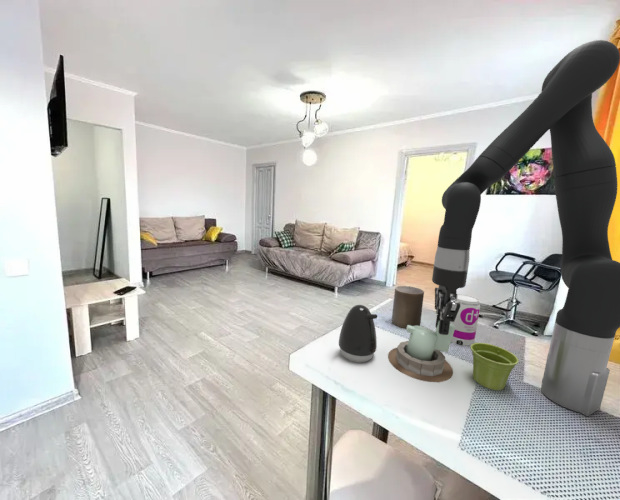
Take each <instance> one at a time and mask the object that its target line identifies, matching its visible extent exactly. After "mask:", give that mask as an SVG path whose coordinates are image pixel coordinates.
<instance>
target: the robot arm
mask: <svg viewBox="0 0 620 500" xmlns="http://www.w3.org/2000/svg"><path fill="white" fill-rule="evenodd" d="M619 64H620V51H619V49H618V46H616V44H614V43H613V42H611V41H608V40H602V39H600V40H597V39H595V40H592V41H588V42H585V43H583V44H581V45H579V46H577V47H575V48H574V49H572V50H570V52H568V53H566V55H564V57H563V58H562V59H560V60H559V61H558V62H557V64H556V65H554V67H553V68H552V69H551V70H550V71H549V72H548V73H547V75H546V76H545V78H544V80H543V82H542V86H541V91H540V93H539V94H538V95H537V96H536V98H534V100H533V101H532V102H531V103H530V104H529V105H528V107H526V108H525V109H524V111H523V112H521V113H520V115H519V116H518V117H517V118H515V119H514V120H513V121H512V122H511V123H510V124H509V125H508V126H507V127H506V128H505V129H503V131H502V132H500V133H499V135H497V137H495V139H494V140H492V142H491V143H490V144H489V145H488V146H487V147H486V148H485V149H484V150H483V151H482V152H481V153H480V154H479V156H478V157H476V159H475V160H474V161H473V163H472V164H471V165H470V166H468V168H467V169H466V170H464V171H463V173H462V174H460V176H459V177H457V178H456V180H454V181H453V182H452V183H451V184H450V185H449V186H448V187H447V188H446V189H445V190H444V192H443V194H442V195H441V204H442V206H443V209H445V213H444V219H443V223H442V225H441V227H440V228H439V233H438V241H437V247H436V252H435V255H434V262H433V263H434V264H433V270H432V277H431V281H432V283H433V284H435V285H437V286H438V287H435V288H434V310H436V311H435V314H436V321H435V328H437V325H438V322H439V321H440V323H439V330H438V332H439V334H442V335H448V333H449V326H450V321H451V322H454V321H455V318H456V316H457V313H458V311H459V309H460V303H456V301H457V298H458V295H457V294H458V291H457V290H459V289H463V288H465V287H466V285H467V279H468V271H469V266H470V265H469V264H470V252H471V251H470V249H471V244H472V236H473V235H472V234H473V229H474V227H475V224H476V221H477V218H478V215H479V213H480V212H479V211H480V208H481V202H482V201H481V200H482V196H481V195H482V194H483V193H485V192H486V190H488V188H489V187H491V186H492V185H494V184H497V183H498V182H499V181H500V180H502V179H503V178H504V177H505V176H506V175H507V174H508V172H510V171H511V170H512V169H513V167H514V166H515V165H517V163H518V162H519V161H521V159H522V158H524V156H525V155H526V154H527V153H528V152H529V151H530V150H531V149H532V148H533V146H535V145H536V143H537V142H539V140H540V139H542V137H543V136H544V135H545V134H546V133H547V132H548V131H549V133H550V145H551V157H552V159H551V160H552V166H553V167H552V168H553V170H552V172H553V182H554V183H553V184H554V191H555V192H554V193H555V199H556V206H557V211H558V212H557V213H558V218H559V224H560V229H561V235H562V241H561V243H562V244H561V245H562V247H561V248H562V249H561V266H560V267H561V269H560V271H561V272H560V274H561V275H560V276H561V280H562V281H563V283H564V285H565V286H566V288H568V290H567V292H566V293H567V294H566V297H565V301H564V305H563V307H562V308H561V309H558V310H557V312H556V317H555V321H554V324H553V325H554V326H553V328H552V329H553V331H552V334H551V337H550V338H551V339H550V343H549V348H548V353H547V357H546V362H545V367H544V372H543V376H542V379H541V386H540V391H541V393H542V394H543V395H544V396H545V397H546V398H547V399H549V400H551V401H552V402H554V403H555V404H557V405H559V406H561V407H564V408H566V409H569V410H571V411H573V412H577V413H580V414H583V415H585V416H587V417H588V416H591V415H592V414H594V413H595V412H596V411H598V410H600V409H601V407H602V403H603V400H604V394H605V391H606V387H607V384H608V379H609V375H610V373H611V372H610V371H611V370H610V368H609V367H608V364H609V360H610V356H611V352H612V347H613V343H614V340H615V337H616V334H617V331H618V330H619V329H620V262H619V261H618V260H615V259H613V257H612V254H611V248H610V243H609V235H608V234H609V233H608V232H609V224H610V221H611V217H612V214H613V211H614V207H615V204H616V200H617V195H618V173H617V167H616V166H617V163H616V158H615V156H614V153H613V151H612V149H611V147H610V146H609V145H608V143H607V142H606V140H604V138H603V137H602V135H601V134H600V133H599V132H598V130H597V128H596V126H595V122H594V118H593V106H592V103H593V101H592V100H593V99H592V98H593V93H595V92H596V91H597V90H599V89H600V88H602V87H603V86H605V84H606V83H607V82H609V81H610V79H611V78H612V77H613V76H614V74H615V72H616V71H617V69H618V67H619ZM448 315H449V316H448Z"/></svg>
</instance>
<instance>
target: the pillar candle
mask: <svg viewBox="0 0 620 500" xmlns="http://www.w3.org/2000/svg"><path fill="white" fill-rule="evenodd" d="M424 295H425V291H424V290H423V289H421V288H419V287H418V288H417V287H414V286H411V285H410V286H407V285H399V286H396V287H394V295H393V297H394V298H393V305H392V313H391V325H394V326H395V327H398V328H400V329H403V330H407V329H406V328H407V325H410V326H416V325H417V326H421V324H422V323H421V322H422V314H423V313H422V312H423V303H424Z"/></svg>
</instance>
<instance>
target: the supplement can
mask: <svg viewBox="0 0 620 500" xmlns="http://www.w3.org/2000/svg"><path fill="white" fill-rule="evenodd" d="M457 295H458V298H457V301H456V303H460V309H459V311H458V313H457V316H456V318H455V321H454V322H451V321H450V323H451V324H453V325H454V327H455V331H454V334H453V337H452V340H451V343H452V344H455V345H459V346H462V347H463V346H465V347H469V346H470V347H471V345H472V344H473V343H475V341H476V340H475V339H476V334H477V327H478V324H479V323H478V322H479V318H480V317H479V315H480V311H481V303H480V302H479V299H478V298H477V297H475V296H472V295H467V294H463V293H461V294H460V293H457ZM447 316H449V315H447Z"/></svg>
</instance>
